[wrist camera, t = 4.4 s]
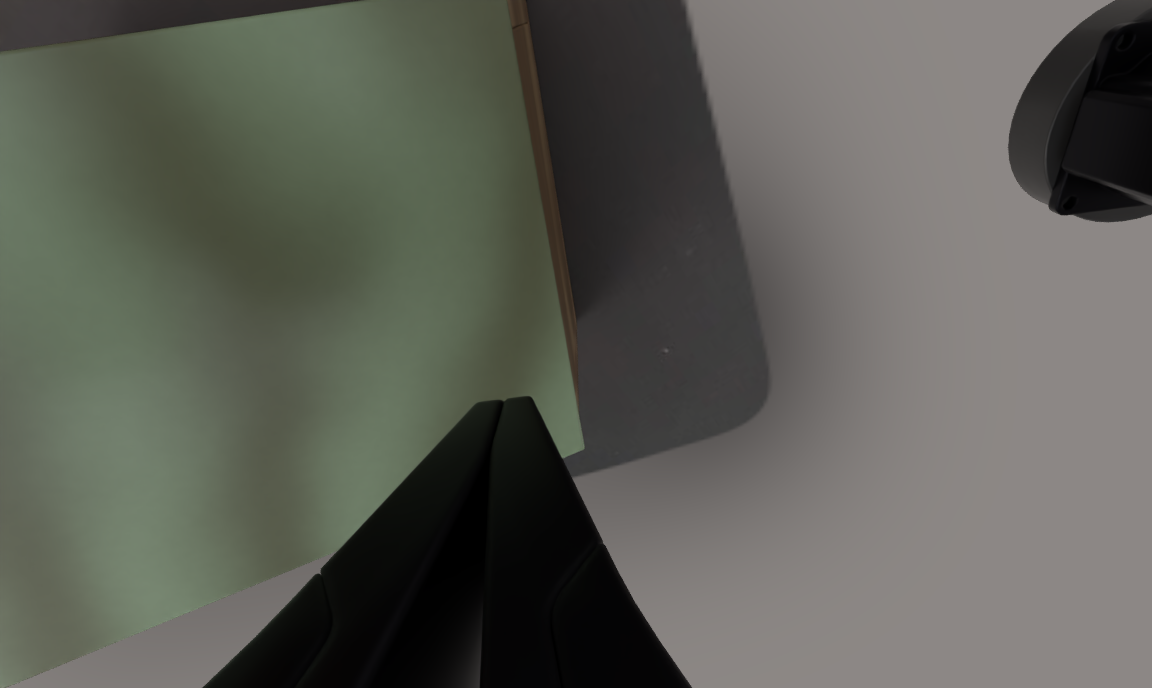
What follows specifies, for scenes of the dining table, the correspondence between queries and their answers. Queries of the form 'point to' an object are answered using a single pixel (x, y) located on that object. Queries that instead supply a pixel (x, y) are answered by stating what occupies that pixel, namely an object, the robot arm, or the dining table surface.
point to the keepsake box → (545, 175)
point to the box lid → (251, 298)
